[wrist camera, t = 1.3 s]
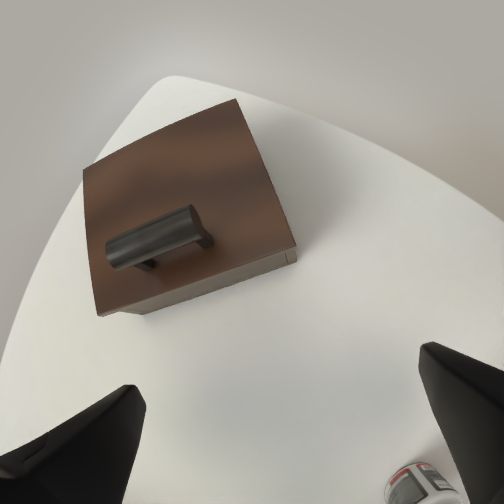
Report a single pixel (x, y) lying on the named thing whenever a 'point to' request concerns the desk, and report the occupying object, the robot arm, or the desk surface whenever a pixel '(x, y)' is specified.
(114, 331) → the desk surface
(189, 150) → the bin lid
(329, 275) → the desk surface
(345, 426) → the desk surface
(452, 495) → the pill bottle
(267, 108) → the desk surface
